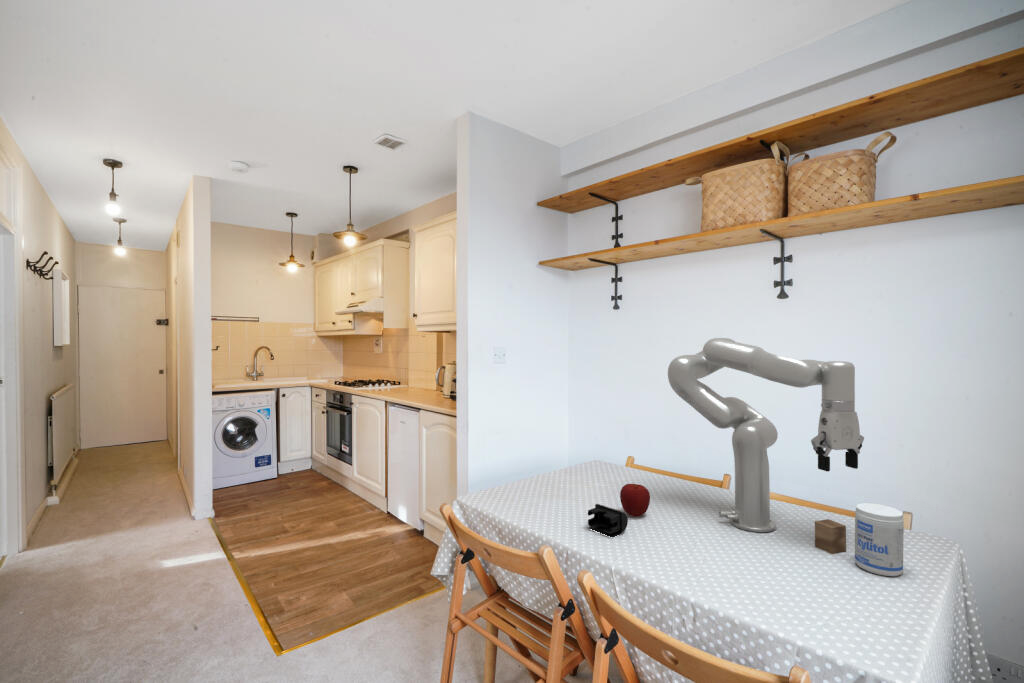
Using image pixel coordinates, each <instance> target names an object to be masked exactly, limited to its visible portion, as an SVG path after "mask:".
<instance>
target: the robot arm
mask: <svg viewBox="0 0 1024 683" xmlns="http://www.w3.org/2000/svg"><path fill="white" fill-rule="evenodd" d="M724 368H728V369H732V370H735V371H740V372H742V373H743V372H744V373H747V374H749V375H753V376H755V377H758V378H762V379H765V380H767V381H771V382H773V383H774V382H775V383H778V384H782V385H785V386H786V385H787V386H789V387H794V388H807V387H812V386H821V404H820V407H821V411H820V413H819V414H820V415H819V418H818V419H819V420H818V429H817V435H816V436H814V437H813V438H811V439H810V442H811V445H812V448H813V451H814V452H815V455H817V469H818V470H819V471H820V470H821V471H824V472H830V471H831V457H830V456H829V455H830V453H831V451H832V450H835V451H841V450H842V451H843V450H844V451H845V450H846V451H845V452H844V453H845V455H844V456H845V466H846V467H848V468H852V469H856V470H857V469H859V454H860V452H861V451H860V450H861V448H862V447H863V443H864V440H865V436H863V435H862V434H861V432H860V431H861V430H860V422H859V417H858V416H859V415H858V413H857V412H856V403H855V400H856V384H855V383H856V377H855V376H856V373H855V371H856V367H855V365H854V364H853V363H852V362H849V361H840V360H838V361H835V360H832V361H831V360H829V361H821V360H816V359H794V358H789V357H786V356H781V355H776V354H773V353H770V352H768V351H766V350H764V349H763V347H760V346H756V345H752V344H751V345H750V344H747V343H742V342H739V341H738V342H737V341H735V340H734V339H731V338H729V337H713V338H711V339H708V341H706V342H705V343H704V345H703V347H702V350H701V351H699V352H698V353H696V354H684V355H680V356H679V355H678V356H677V357H675V358H673V359H672V360H671V362H670V363H669V366H668V368H667V380H668V383H669V385H670V387H671V389H672V390H673V391H674V393H675V394H676V395H677V396H679V398H681V399H682V400H683V401H684V402H686V403H687V404H688V405H689V406H691V408H693V409H694V410H695V411H696V412H697V413H699V415H701V416H702V417H704V418H705V419H706V420H707V421H708V422H709V423H711V424H712V426H715V427H716V428H718V429H729V428H732V429H733V432H732V435H731V436H732V437H731V445H732V452H733V460H734V462H733V463H734V502H735V503H734V505H735V506H731V509H729V510H719V511H718V514H719V517H720V518H726V520H729V522H730V524H732V526H734V527H735V528H738V529H739V530H744V531H748V532H753V533H770V532H773V531H775V530H776V528H777V525H776V522H775V521H774V520H772V519H771V515H770V514H771V509H770V508H771V502H770V500H771V498H770V496H771V494H770V492H771V490H770V484H771V482H770V463H769V456H768V448H770V447H772V446H774V445H775V443H776V442H777V439H778V437H779V436H778V433H779V432H778V430H777V428H776V426H775V424H773V422H772V421H771V420H770V419H768V418H767V417H766V416H764V415H762V413H760V412H759V411H758V410H756V408H753V407H752V406H751V405H750V404H748V403H746V401H744V400H741V399H740V398H738V397H733V396H727V397H723V396H722V395H720V394H719V393H717V392H716V391H715V390H713V389H712V388H711V387H710V386H708V385H706V384H705V383H703V382H701V381H700V380H699V379H703V378H706V377H707V376H710V375H712V374H713V373H715V372H717V371H719V370H721V369H724Z"/></svg>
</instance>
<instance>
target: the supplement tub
mask: <svg viewBox="0 0 1024 683" xmlns="http://www.w3.org/2000/svg"><path fill="white" fill-rule="evenodd" d="M904 522H905V521H904V514H903V511H901V510H899V509H897V508H895V507H892V506H888V505H884V504H878V503H869V502H867V503H866V502H863V503H857V504H856V506H855V513H854V562H855V564H856V565H857V566H858V567H859V568H860V569H862V570H863V571H867V572H869V573H872V574H876V575H879V576H886V577H897V576H901V575H902V574H903V573H904V532H905V529H904V527H905V526H904V525H905V524H904Z"/></svg>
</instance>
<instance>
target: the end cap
mask: <svg viewBox="0 0 1024 683" xmlns="http://www.w3.org/2000/svg"><path fill="white" fill-rule="evenodd" d="M592 515H593V517H591V518H589V519H587V525H588V526H589V527H588V529H589V528H590V529H592V530H595V531H597V532H600V533H602V534H605V535H607V536H610V537H615V536H617V535H619V536H621V535H622V534H623V533H624V532H625V531H626V529H627V527H628V525H629V524H628V522H629V521H628V520H629V518H628V514H627V513H626V512H625V511H621V510H618V509H615V508H612V507H608V506H606V505H602V504H599V503H595V504H594V508H593V507H592V508H590V509H588V510H587V516H589V517H590V516H592ZM620 534H621V535H620ZM607 536H606V537H607ZM617 537H618V536H617ZM615 538H616V537H615Z"/></svg>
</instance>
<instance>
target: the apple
mask: <svg viewBox="0 0 1024 683" xmlns="http://www.w3.org/2000/svg"><path fill="white" fill-rule="evenodd" d="M619 500H620V503H621V506H622V509H623V512H624V513H626V515H627V516H629V517H634V518H635V517H636V518H639V517H642V516H643V515H644V514H646V513H647V511H648V509H649V506H650V502H651V494H650V491H649V489H648V488H647V487H646V486H644V485H643V484H638V483H626V484H624V485H623V486H622V487H621V488H620V493H619Z"/></svg>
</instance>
